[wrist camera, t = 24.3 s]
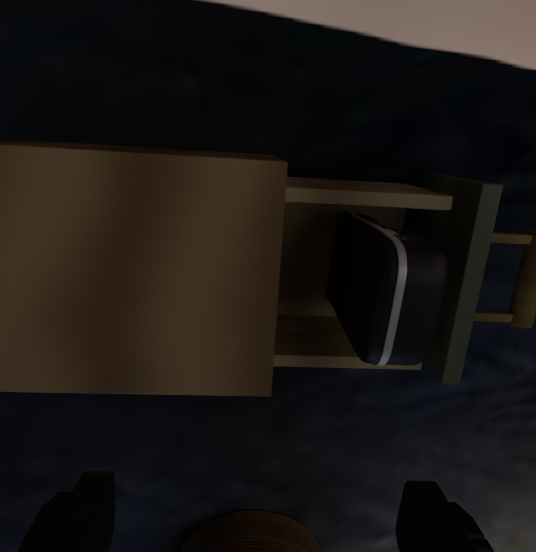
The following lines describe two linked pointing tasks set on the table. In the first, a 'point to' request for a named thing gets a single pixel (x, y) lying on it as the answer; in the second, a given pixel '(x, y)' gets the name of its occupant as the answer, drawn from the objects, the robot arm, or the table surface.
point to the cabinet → (138, 269)
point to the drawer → (391, 213)
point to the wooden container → (251, 534)
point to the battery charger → (386, 290)
